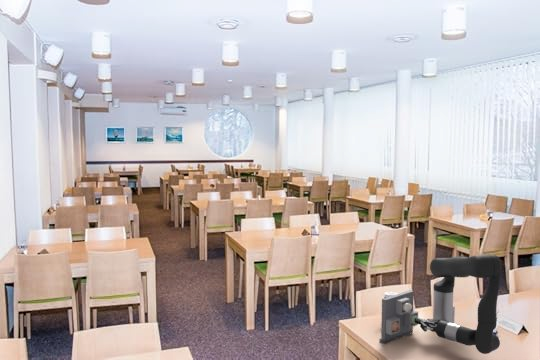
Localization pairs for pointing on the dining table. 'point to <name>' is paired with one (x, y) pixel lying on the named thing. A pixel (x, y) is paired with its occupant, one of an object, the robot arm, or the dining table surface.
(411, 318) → the sage button
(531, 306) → the dining table surface
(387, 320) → the button panel
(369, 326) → the dining table surface
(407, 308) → the cream button
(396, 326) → the terracotta button
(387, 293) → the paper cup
